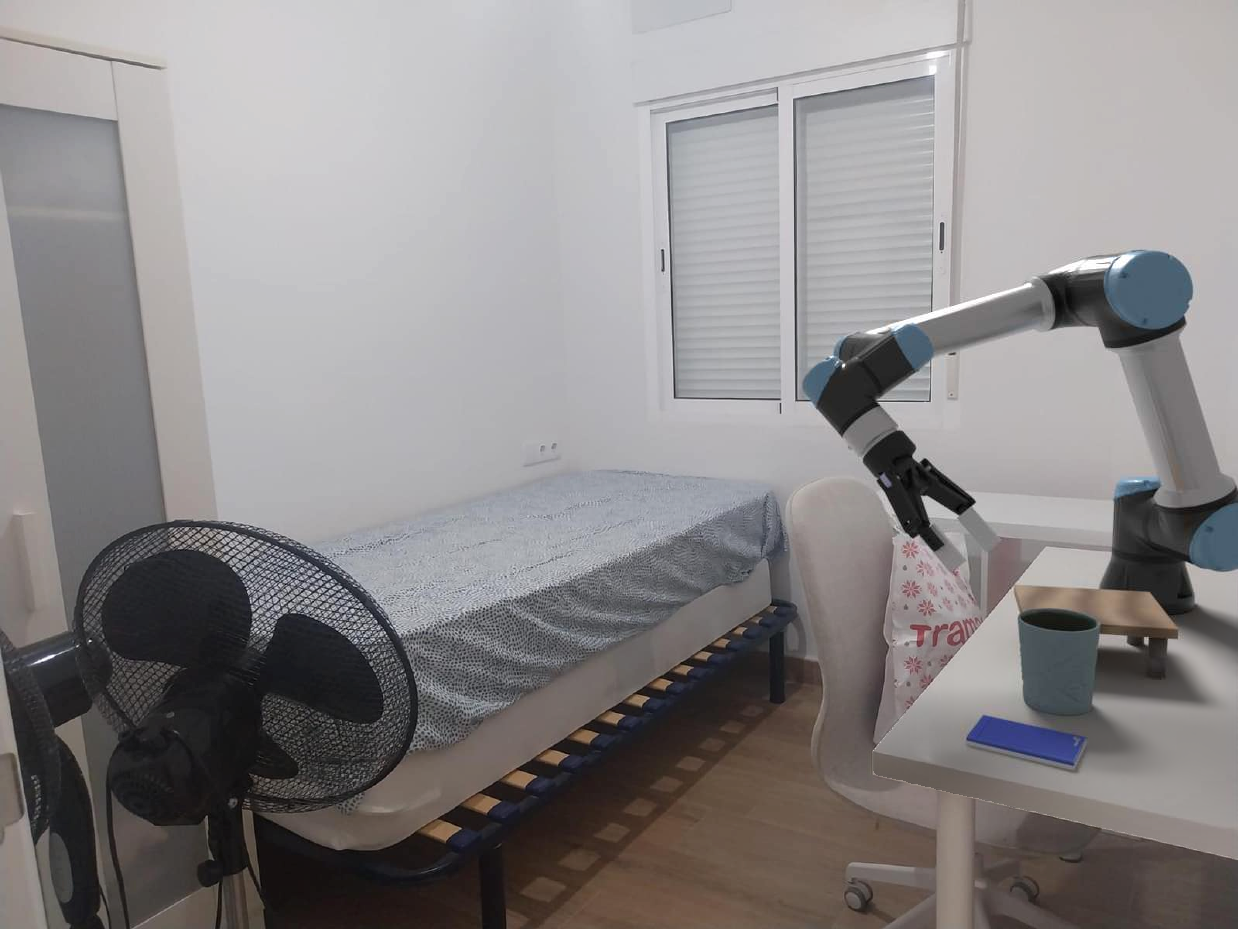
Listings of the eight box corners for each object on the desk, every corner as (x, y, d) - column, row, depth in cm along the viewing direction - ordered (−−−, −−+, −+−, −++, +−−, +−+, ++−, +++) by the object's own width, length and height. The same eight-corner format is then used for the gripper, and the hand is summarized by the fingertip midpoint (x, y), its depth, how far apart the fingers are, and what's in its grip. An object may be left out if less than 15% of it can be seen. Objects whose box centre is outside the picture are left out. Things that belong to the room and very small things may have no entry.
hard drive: (1087, 735, 113) (983, 713, 121) (1074, 762, 107) (965, 736, 114) (1086, 747, 114) (983, 724, 121) (1073, 774, 107) (965, 748, 114)
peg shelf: (1146, 639, 147) (1149, 591, 146) (1175, 682, 130) (1178, 629, 129) (1012, 630, 154) (1014, 584, 152) (1023, 670, 137) (1025, 619, 135)
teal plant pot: (1106, 720, 120) (1110, 633, 118) (1024, 716, 122) (1027, 630, 120) (1083, 689, 129) (1087, 608, 127) (1008, 685, 131) (1010, 606, 130)
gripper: (899, 450, 148) (988, 553, 141) (823, 471, 130) (922, 591, 122) (931, 419, 144) (1026, 524, 136) (858, 437, 126) (962, 559, 118)
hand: (977, 556), depth 129 cm, fingers open, 13 cm apart
